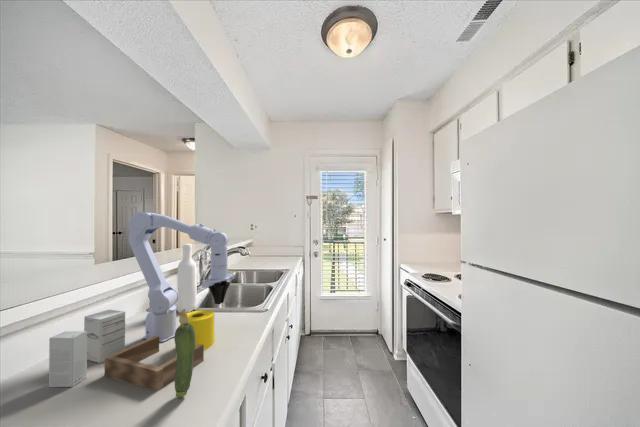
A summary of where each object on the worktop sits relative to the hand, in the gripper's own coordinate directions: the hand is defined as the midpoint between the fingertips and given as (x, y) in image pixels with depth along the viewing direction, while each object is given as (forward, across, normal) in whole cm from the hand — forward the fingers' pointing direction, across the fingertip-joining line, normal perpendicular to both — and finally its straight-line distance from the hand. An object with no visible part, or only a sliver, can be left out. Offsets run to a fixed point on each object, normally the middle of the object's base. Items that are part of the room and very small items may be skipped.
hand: (219, 303), depth 97 cm
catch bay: (+10, -24, 0) cm, 26 cm away
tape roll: (+11, -10, 0) cm, 15 cm away
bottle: (+11, +15, +31) cm, 36 cm away
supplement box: (+11, -25, +21) cm, 34 cm away
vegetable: (+11, -31, -17) cm, 37 cm away
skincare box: (+11, -37, +15) cm, 41 cm away
